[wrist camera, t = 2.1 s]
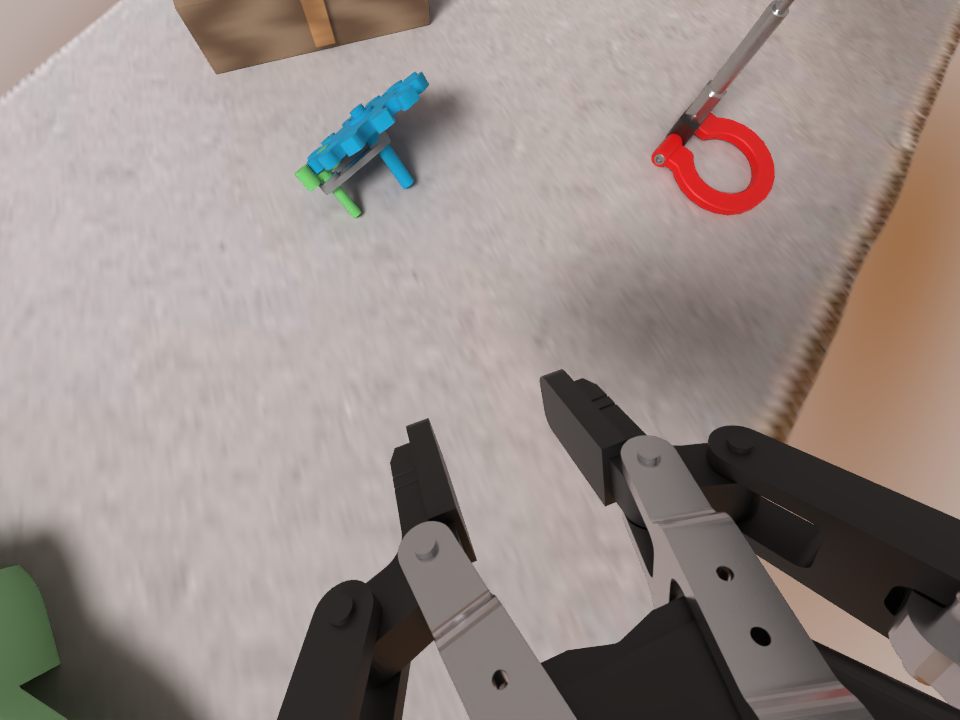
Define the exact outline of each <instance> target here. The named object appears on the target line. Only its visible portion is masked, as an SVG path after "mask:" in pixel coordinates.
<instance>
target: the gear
mask: <svg viewBox="0 0 960 720" xmlns="http://www.w3.org/2000/svg"><path fill="white" fill-rule="evenodd" d="M428 85H429V83H428V82H427V80H426V78H425V76H424V75H423V73H422V72H420V73H419V74H417V73H416V72H414V73H412V74H411V75H410V76H409V77H407V78H406V79H405V80H404V81H403V82H402V80H400V81H398V82H397V83H395V84H394V85H393V86H391V87H390V88H389V89H388V90H387V91H386V92H385V93H384V94H383V95H382V96H381V97H380V96H377V97H376V98H374V99H373V100H371V101H370V102H369V103H368V104H367V105H366V107H365V108H364V106H363V105H362V104H360V105H358V106H357V107H356V108H354V109H353V110H352V111H351V112H350V114H351V117H350V118H349V119H348V120H346V121H345V122H344V123H343V124H342V126H343V128H342V129H341V130H340V131H338V132H337V133H336V134H335V133H332V134H331V135H330V136H328V137H327V138H326V139H325V140H324V141H323V142H322V143H321V144H322V147H319V148H318V149H316V150H315V151H314V152H313V153H312V154H311V155H310V156H309V157H308V158H307V159H308V162H307V165H308V166H309V167H308V166H307V165H304V166H303V167H302V168H300V169H299V170H298V171H297V172H296V173H295V175H296V177H297V178H298V179H299V180H300V181H301V182H302V183H303V185H304V186H305V187H306V188H307V189H308V190H309V191H312V190H313V189H315V188H316V187H317V186H318V185H319V187H320V188H321V189H322V190H323V192H324V193H325V194H326V195H328V194H330V193H331V192H333V194H334V195H335V196H336V197H337V198H338V200H339V201H340V202H341V203H342V204H343V206H344V207H345V208H346V209H347V210H348V211H349V213H350V214H351V215H352V216H353V217H354V218H356V217H357V216H359V215H360V214H361V210H360V209H359V208H358V207H357V206H356V204H355V203H354V202H353V201H352V199H351V198H350V197H349V196H348V194H347V193H346V192H345V191H344V190H343V188H342V187H341V186H340V185H341V184H343V183H344V182H345V181H346V180H347V179H349V178H350V177H351V176H352V175H353V174H354V173H356V172H357V171H358V170H359V169H360V168H361V167H363V166H364V165H365V164H366V163H367V162H369V161H370V160H371V159H372V158H373V157H374V156H376V155H377V154H379V155H380V156H381V158H382V159H383V161H384V162H385V163H386V165H387V166H388V168H389V169H390V170H391V172H392V173H393V175H394V176H395V177H396V179H397V180H398V182H399V183H400V184H401V186H402V187H403V189H405V188H407V187H409V186H410V185H411V184H412V183H413V182H414V180H413V178H412V177H411V175H410V174H409V172H408V171H407V169H406V168H405V166H404V165H403V163H402V162H401V161H400V159H399V158H398V156H397V155H396V153H395V152H394V150H393V149H392V147H391V146H390V144H389V143H390V142H391V141H392V140H391V138H390V137H389V135H388V134H387V132H386V131H385V130H386V129H387V128H389V127H390V126H391V125H392V124H394V123H395V122H396V120H395V118H394V117H393V115H395V114H396V113H397V112H398V111H400V110H401V109H402V110H403V111H405V110H407V109H409V108H410V107H411V106H412V105H413V104H415V103H416V102H417V101H418V100H419V99H420V97H419V94H420V93H422V92H423V91H424V90H425V89H426V88H427V87H428ZM366 144H367V146H368V147H369V148H368V149H366V150H365V151H364V152H363V153H362V154H361V155H359V156H358V157H357V158H356V159H355V160H353V161H352V162H351V163H350V164H349V165H347V166H346V167H345V168H344V169H343V170H342V171H340V172H339V173H338V172H337V171H335V172H333V173H332V172H331V171H332V170H333V169H334V168H336V167H337V166H338V165H339V164H340V163H341V159H342V158H343V157H344V156H345V155H346V154H348V156H349V157H350V156H352V155H353V154H355V153H356V152H358V151H359V150H361V149H362V148H363V147H364V146H365V145H366ZM312 171H313V172H314V173H313V172H312ZM316 174H317V175H316Z"/></svg>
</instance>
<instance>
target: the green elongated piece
mask: <svg viewBox="0 0 960 720" xmlns="http://www.w3.org/2000/svg"><path fill="white" fill-rule="evenodd" d="M58 665H60V660H59V656H58V652H57V648H56V644H55V641H54V637H53V633H52V629H51V626H50V622H49V618H48V615H47V611H46V608H45V604H44V601H43V598H42V595H41V593H40V591H39V589H38V587H37V585H36V583H35V582H34V580H33V579H32V577H31V576H30V575H29V574H28V573H27V572H26V571H25V570H24V569H23V568H22V567H21V566H20V565H15V566H11V567H7V568H3V569H0V720H68V719H66V718H65V717H63V716H62V715H60V714H59V713H57V712H56V711H54V710H53V709H51V708H50V707H48V706H47V705H45V704H44V703H42V702H41V701H39V700H38V699H36V698H35V697H33V696H32V695H30V694H29V693H27V692H25V691H24V690H22V689H21V688H20V687H19V686H20V685H22V684H24V683H26V682H28V681H29V680H31V679H33V678H35V677H37V676H39V675H41V674H43V673H45V672H46V671H48V670H50V669H52V668H54V667H56V666H58Z"/></svg>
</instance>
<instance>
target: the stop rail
mask: <svg viewBox="0 0 960 720" xmlns="http://www.w3.org/2000/svg"><path fill="white" fill-rule="evenodd" d="M173 2H174V6H175V9H176V10H177V12H178V13H179V15H180V17H181V18H182V20H183V22H184V23H185V25H186V26H187V28H188V30H189V31H190V33H191V34H192V36H193V38H194V39H195V41H196V42H197V44H198V46H199V47H200V49H201V51H202V52H203V54H204V55H205V57H206V59H207V60H208V62H209V63H210V65H211V67H212V68H213V70H214V71H215V73H216V74H219V73H223V72H227V71H232V70H236V69H240V68H244V67H249V66H253V65H257V64H262V63H266V62H270V61H275V60H279V59H283V58H287V57H292V56H296V55H300V54H305V53H309V52H313V51H318V50H322V49H326V48H330V47H335V46H339V45H343V44H348V43H352V42H356V41H361V40H365V39H369V38H373V37H378V36H382V35H386V34H391V33H395V32H399V31H404V30H408V29H412V28H416V27H421V26H425V25H429V24H430V19H429V1H428V0H173Z"/></svg>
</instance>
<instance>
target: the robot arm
mask: <svg viewBox="0 0 960 720" xmlns="http://www.w3.org/2000/svg"><path fill="white" fill-rule="evenodd" d="M540 386H541V392H542V398H543V404H544V410H545V415H546V418H547V421H548V423H549V426H550V427H551V429H552V431H553V432H554V434H555V435H556V437H557V438H558V439H559V441H560V442H561V444H562V445H563V447H564V448H565V449H566V451H567V452H568V454H569V455H570V457H571V458H572V460H573V461H574V462H575V464H576V465H577V467H578V468H579V470H580V471H581V472H582V474H583V475H584V477H585V478H586V480H587V481H588V482H589V484H590V485H591V487H592V488H593V490H594V491H595V492H596V494H597V495H598V497H599V498H600V500H601V501H602V502H603V504H604V505H605V506H607V505H610V504H612V503H615V502H617V504H618V505H619V506H620V508H621V509H622V513H623V521H624V524H625V527H626V529H627V532H628V534H629V537H630V539H631V542H632V544H633V547H634V549H635V552H636V554H637V557H638V559H639V562H640V564H641V567H642V569H643V572H644V574H645V577H646V579H647V582H648V585H649V588H650V592H651V596H652V601H653V606H654V610H652V611H651V612H650V613H649V614H648V615H647V616H646V617H645V618H644V619H643V620H642V621H641V622H640V623H639V624H638V625H637V626H636V627H635V628H634V629H633V630H631V631H630V632H629V633H628V634H627V635H626V636H625V637H624V638H623V639H622V640H621V641H620V642H618V643H615V644H610V645H603V646H596V647H588V648H581V649H574V650H567V651H565V652H563V653H561V654H559V655H557V656H555V657H553V658H551V659H548V660H546V661H544V662H542V663H540V662H539V660H538V659H537V657H536V656H535V654H534V653H533V651H532V650H531V648H530V647H529V645H528V643H527V642H526V640H525V639H524V637H523V636H522V634H521V633H520V631H519V630H518V628H517V627H516V625H515V624H514V622H513V620H512V619H511V617H510V616H509V614H508V613H507V611H506V610H505V608H504V607H503V605H502V604H501V602H500V601H499V600H498V598H497V597H496V596H495V595H493V594H492V593H491V592H490V591H489V589H488V588H487V586H486V585H485V583H484V582H483V580H482V578H481V577H480V575H479V574H478V572H477V571H476V569H475V568H474V566H473V564H472V562H475V561H477V559H476V556H475V553H474V550H473V547H472V544H471V541H470V538H469V535H468V531H467V528H466V525H465V522H464V519H463V516H462V513H461V510H460V507H459V504H458V501H457V498H456V494H455V491H454V488H453V485H452V482H451V479H450V476H449V473H448V470H447V467H446V464H445V461H444V458H443V455H442V453H441V450H440V447H439V445H438V442H437V439H436V437H435V434H434V431H433V429H432V426H431V423H430V421H429V418H427V419H424V420H422V421H419V422H416V423H413V424H411V425H408V426H406V429H407V433H408V437H409V442H410V443H408V444H405V445H402V446H400V447H397V448H395V450H394V453H393V456H392V459H391V462H390V464H391V470H392V476H393V482H394V488H395V494H396V500H397V506H398V512H399V518H400V524H401V530H402V541H401V543H400V546H399V549H398V552H397V554H396V556H395V557H394V559H393V560H392V562H391V563H390V564H389V565H388V566H387V567H386V568H384V569H383V570H382V571H381V572H380V573H378V574H377V575H376V576H374V577H373V578H372V579H371V580H369V581H368V582H367V583H366V584H365V583H364V582H362V581H358V580H349V581H345V582H342V583H340V584H338V585H336V586H335V587H333V588H332V589H331V590H329V591H328V592H327V593H326V594H325V595H324V597H323V598H322V599H321V600H320V602H319V603H318V605H317V607H316V609H315V612H314V614H313V617H312V620H311V623H310V626H309V628H308V631H307V634H306V637H305V640H304V643H303V646H302V649H301V652H300V654H299V657H298V660H297V663H296V666H295V669H294V672H293V675H292V678H291V680H290V683H289V686H288V689H287V692H286V695H285V698H284V701H283V703H282V706H281V709H280V712H279V715H278V718H277V720H402V715H403V708H404V702H405V695H406V689H407V682H408V676H409V669H410V663H411V661H412V660H413V659H414V658H415V657H416V656H417V655H418V654H419V653H420V652H421V651H422V650H424V649H425V648H426V647H427V646H428V645H429V644H430V643H431V642H432V641H433V640H434V641H435V644H436V646H437V649H438V651H439V653H440V655H441V658H442V660H443V662H444V664H445V666H446V668H447V670H448V673H449V675H450V677H451V679H452V681H453V683H454V686H455V688H456V690H457V692H458V694H459V696H460V698H461V701H462V703H463V705H464V707H465V709H466V711H467V714H468V716H469V718H470V720H960V520H959V519H957V518H954V517H952V516H950V515H948V514H945V513H943V512H941V511H938V510H936V509H934V508H931V507H929V506H927V505H924V504H922V503H920V502H918V501H915V500H913V499H911V498H909V497H906V496H904V495H901V494H899V493H897V492H895V491H892V490H890V489H888V488H885V487H883V486H881V485H879V484H876V483H874V482H872V481H869V480H867V479H865V478H863V477H860V476H858V475H856V474H853V473H851V472H849V471H846V470H844V469H842V468H840V467H837V466H835V465H833V464H830V463H828V462H826V461H824V460H821V459H819V458H817V457H814V456H812V455H810V454H807V453H805V452H803V451H801V450H798V449H796V448H794V447H791V446H789V445H787V444H784V443H782V442H780V441H778V440H775V439H773V438H771V437H768V436H766V435H764V434H761V433H759V432H757V431H755V430H752V429H749V428H746V427H742V426H724V427H720V428H718V429H716V430H714V431H713V432H712V433H711V434H710V436H709V439H708V443H702V444H693V445H684V446H673V445H671V444H670V443H669V442H667V441H666V440H664V439H662V438H659V437H655V436H649V435H646V434H645V433H644V432H643V431H642V430H641V429H640V428H639V427H638V426H637V425H636V424H635V423H634V422H633V421H632V420H631V419H630V418H629V417H628V416H627V415H626V414H625V413H624V412H623V411H622V410H621V409H620V408H619V407H618V406H617V405H615V403H614V402H613V401H612V400H611V398H610V397H609V396H608V397H607V394H606V393H605V392H604V391H603V390H602V389H601V388H600V387H599V386H598V385H597V384H594V383H592V382H590V381H588V380H585V379H583V378H582V379H579V380H576V381H573V380H572V379H571V378H570V376H569V375H568V374H567V373H566V372H565V371H564V370H562V369H561V370H558V371H555V372H553V373H550V374H547V375H544V376H542V377H540ZM761 496H763V497H765V498H767V499H768V500H767V499H765V498H763V497H761ZM769 500H770V501H772V502H774V503H776V504H778V505H780V506H782V507H784V508H785V509H787V510H789V511H791V512H793V513H795V514H797V515H798V516H800V517H802V518H804V519H806V520H808V521H809V522H808V521H806V520H804V519H802V518H800V517H798V516H796V515H794V514H793V513H791V512H789V511H787V510H785V509H783V508H782V507H780V506H778V505H776V504H774V503H772V502H770V501H769ZM810 522H811V523H813V524H814V525H813V524H811V523H810ZM756 555H758V556H759V557H761V558H762V559H764V560H766V561H767V562H769V563H770V564H772V565H774V566H775V567H777V568H778V569H780V570H781V571H783V572H785V573H786V574H788V575H789V576H791V577H793V578H794V579H795V580H797V581H799V582H800V583H802V584H803V585H805V586H806V587H808V588H810V589H811V590H813V591H814V592H816V593H817V594H819V595H821V596H822V597H824V598H825V599H827V600H828V601H830V602H832V603H833V604H835V605H837V606H838V607H839V608H841V609H843V610H844V611H846V612H847V613H849V614H850V615H852V616H854V617H855V618H857V619H859V620H860V621H861V622H863V623H865V624H866V625H868V626H869V627H871V628H872V629H874V630H876V631H877V632H879V633H880V634H882V635H883V636H885V637H887V638H888V639H890V642H891V644H892V647H893V648H894V650H895V652H896V653H897V655H898V656H899V657H900V659H901V660H902V664H903V666H904V668H905V670H906V671H907V672H908V674H909V675H910V676H912V677H913V678H914V679H915V680H917V681H918V682H920V683H922V684H925V685H928V686H932V687H933V688H934V689H935V690H936V691H937V692H938V693H939V694H940V695H941V696H942V697H943V698H944V699H945V701H946V702H947V703H948V704H947V703H945V702H943V701H941V700H939V699H936V698H934V697H932V696H930V695H928V694H926V693H924V692H921V691H920V690H917V689H915V688H913V687H911V686H909V685H907V684H905V683H903V682H901V681H898V680H896V679H894V678H892V677H890V676H888V675H886V674H884V673H882V672H879V671H877V670H875V669H873V668H871V667H869V666H867V665H865V664H863V663H860V662H858V661H856V660H854V659H852V658H850V657H848V656H845V655H843V654H841V653H839V652H837V651H835V650H833V649H831V648H829V647H827V646H825V645H822V644H820V643H818V642H816V641H814V640H812V639H810V637H809V636H808V634H807V632H806V631H805V629H804V628H803V626H802V625H801V623H800V622H799V620H798V619H797V617H796V616H795V614H794V612H793V611H792V610H791V608H790V606H789V605H788V603H787V602H786V600H785V599H784V597H783V596H782V594H781V593H780V591H779V589H778V588H777V586H776V585H775V583H774V582H773V580H772V579H771V577H770V576H769V574H768V573H767V571H766V570H765V568H764V566H763V565H762V564H761V562H760V560H759V559H758V557H757V556H756Z"/></svg>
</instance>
